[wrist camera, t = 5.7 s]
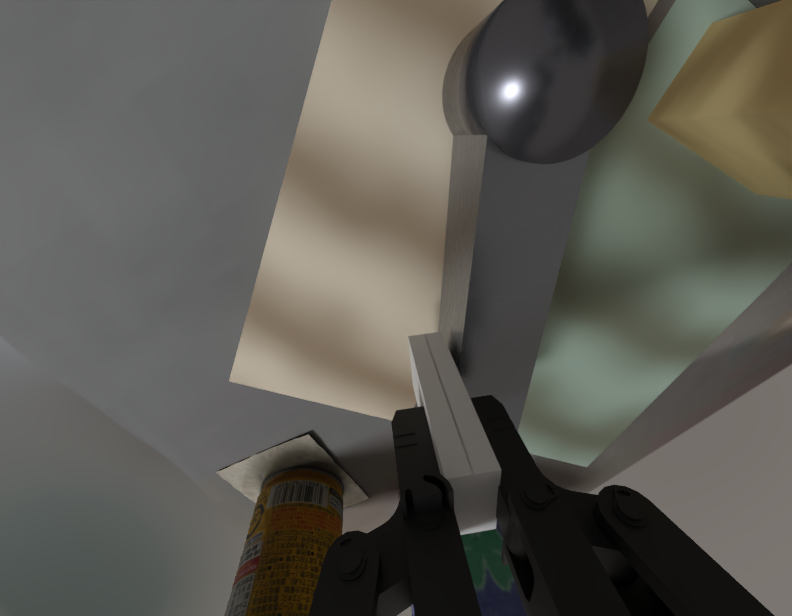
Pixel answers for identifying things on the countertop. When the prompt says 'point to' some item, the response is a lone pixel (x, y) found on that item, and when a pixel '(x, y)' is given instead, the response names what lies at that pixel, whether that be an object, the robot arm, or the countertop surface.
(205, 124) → the countertop surface
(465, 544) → the flask
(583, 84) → the latch bar
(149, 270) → the countertop surface
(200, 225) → the countertop surface
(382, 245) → the two-tone base plate
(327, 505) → the condiment
